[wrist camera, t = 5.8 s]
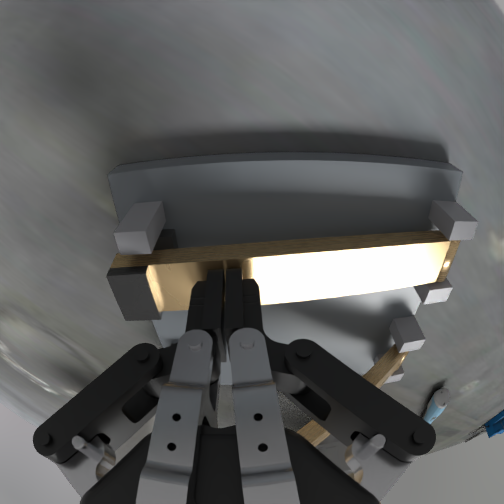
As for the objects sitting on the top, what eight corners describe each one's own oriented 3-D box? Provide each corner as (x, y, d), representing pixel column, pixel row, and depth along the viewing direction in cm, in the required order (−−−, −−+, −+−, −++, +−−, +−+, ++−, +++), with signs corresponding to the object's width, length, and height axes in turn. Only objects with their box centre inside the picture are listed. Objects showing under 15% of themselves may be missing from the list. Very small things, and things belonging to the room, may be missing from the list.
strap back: (402, 333, 21) (419, 346, 19) (391, 355, 22) (406, 367, 21) (192, 493, 12) (210, 518, 10) (201, 498, 13) (218, 519, 12)
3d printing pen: (441, 409, 30) (455, 397, 30) (430, 394, 32) (444, 383, 33) (420, 436, 41) (431, 428, 41) (412, 425, 44) (423, 418, 44)
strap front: (452, 228, 15) (469, 245, 13) (438, 267, 16) (453, 285, 15) (117, 252, 14) (106, 276, 12) (132, 295, 15) (125, 320, 14)
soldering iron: (478, 435, 84) (486, 463, 69) (438, 451, 81) (447, 485, 66) (526, 397, 65) (539, 428, 50) (493, 414, 61) (507, 453, 46)
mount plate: (449, 163, 14) (493, 193, 11) (381, 358, 26) (393, 395, 22) (118, 165, 15) (80, 199, 11) (181, 370, 26) (175, 411, 22)
